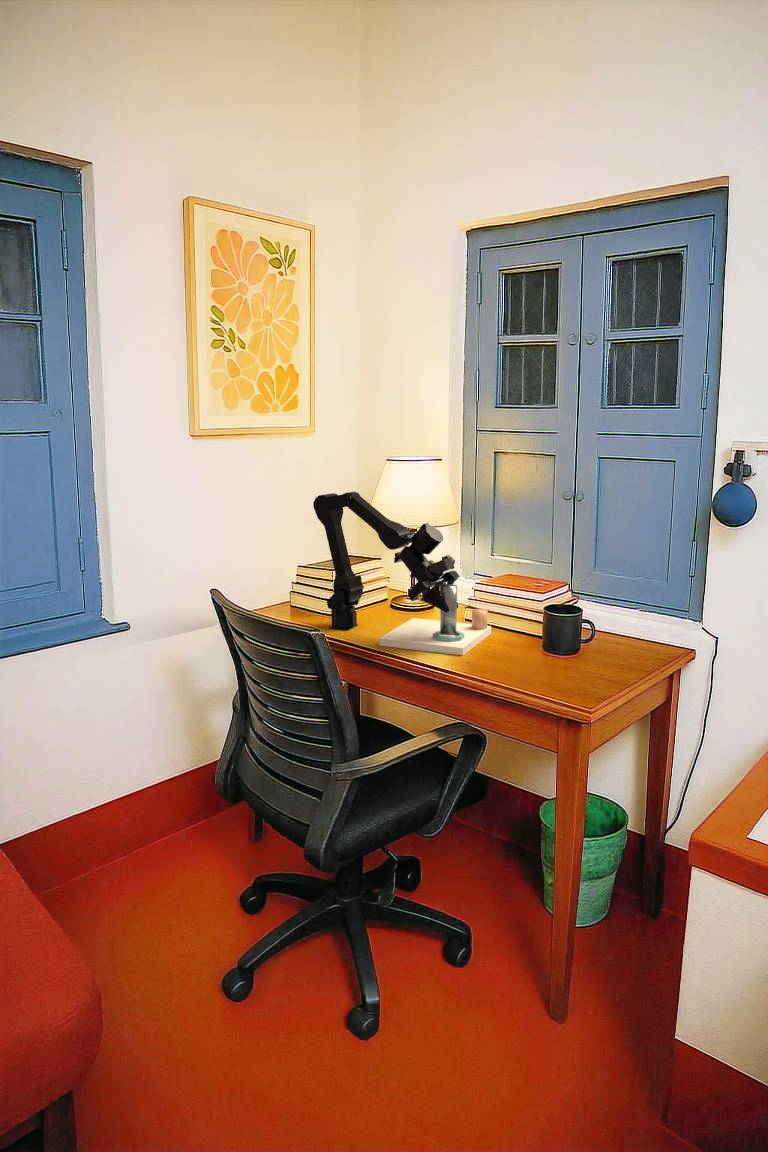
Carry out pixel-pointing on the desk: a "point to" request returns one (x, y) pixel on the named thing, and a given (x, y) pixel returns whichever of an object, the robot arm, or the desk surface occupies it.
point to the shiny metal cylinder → (450, 618)
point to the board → (434, 637)
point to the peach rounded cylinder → (479, 619)
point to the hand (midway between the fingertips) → (452, 609)
